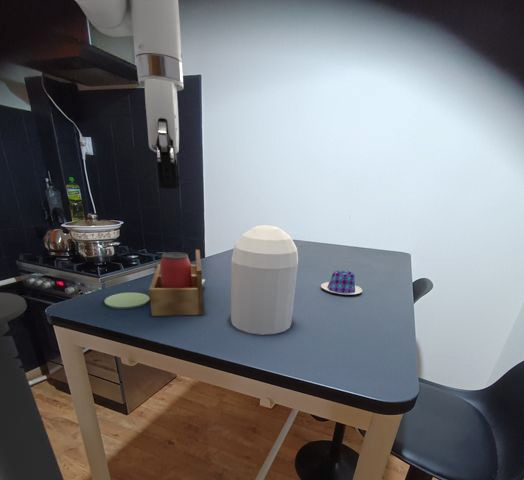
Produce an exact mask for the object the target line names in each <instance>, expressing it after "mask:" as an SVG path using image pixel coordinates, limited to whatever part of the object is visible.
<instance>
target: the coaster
mask: <svg viewBox="0 0 524 480" xmlns="http://www.w3.org/2000/svg"><path fill="white" fill-rule="evenodd" d="M149 303H150V295H148V294H144V293H141V292H120V293H115V294H112V295H110V296H107V297H106V298H105V299H104V305H105V306H106V307H109V308H111V309H117V310H127V309H129V310H130V309H136V308H140V307H143V306H146V305H147V304H149Z"/></svg>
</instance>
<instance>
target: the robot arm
mask: <svg viewBox="0 0 524 480" xmlns="http://www.w3.org/2000/svg"><path fill="white" fill-rule="evenodd" d="M74 1H75V2H76V3H77V5H78V6H79V7H80V9H81V11H82V12H83V13H84V15H85V17H86V18H87V19H88V21H89V22H90V24H91V25H92V26H93V27H94V28H95V29H96V30H97V31H98V32H99V33H101V34H103V35H105V36H107V37H113V38H121V37H123V38H124V37H132V38H133V46H134V56H135V63H136V71H137V72H136V73H137V81H138V85H139V86H140V87H143V88H144V100H145V101H144V102H145V111H146V112H145V114H146V124H147V125H146V126H147V139H148V147H149V149H150V150H151V151H152V152H154V153H157V154H156V155H157V156H156V158H157V163H156V166H157V167H156V168H157V175H158V187H159V188H160V189H167V190H168V189H170V190H176V189H178V187H179V186H180V177H179V176H180V175H179V165H178V164H177V154H178V153H179V150H180V122H179V105H178V104H179V102H178V92H179V91H182V90H184V87H185V86H184V71H183V56H182V39H181V22H180V8H179V0H74Z"/></svg>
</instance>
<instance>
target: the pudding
mask: <svg viewBox="0 0 524 480" xmlns="http://www.w3.org/2000/svg"><path fill="white" fill-rule="evenodd" d="M320 287H321V288H322V289H323V290H325V291H327V292H329V293H333V294H337V295H345V296H347V295H348V296H350V295H351V296H352V295H358V294H361V293H362V292H363V291H364V290H363V289H362V287H361V286H358V285H356V280H355V273H354V272H352V271H349V270H344V269H339V270H335V271H334V272H333V273H332V275H331V277H330V278H329V281H326V282H322V283H321V284H320Z"/></svg>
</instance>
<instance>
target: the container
mask: <svg viewBox="0 0 524 480" xmlns="http://www.w3.org/2000/svg"><path fill="white" fill-rule="evenodd" d="M298 264H299V254H298V248H297V246H296V243H295V242H294V240H293V238H292V236H291V235H289V234H288V233H287V232H285V231H284V230H283V229H282V228H280V227H279V226H273V225H271V224H270V225H269V224H264V225H262V224H261V225H256V226H253V227H251V228H250V229H248V230H247V231H245V232H244V233H242V234H241V236H240V237H239V238H238V240H237V242H236V243H235V244H234V247H233V252H232V256H231V264H230V265H231V268H230V269H231V270H230V271H231V273H230V274H231V275H230V277H231V278H230V279H231V280H230V281H231V282H230V323H231V324H232V326H233V327H235V328H236V329H237V330H239V331H242V332H245V333H247V334H252V335H253V334H254V335H263V336H265V335H277V334H279V333H284V332H286V331H287V330H289V329H290V328H291V325H292V320H293V311H294V303H295V302H294V301H295V291H296V283H297V274H298Z"/></svg>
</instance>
